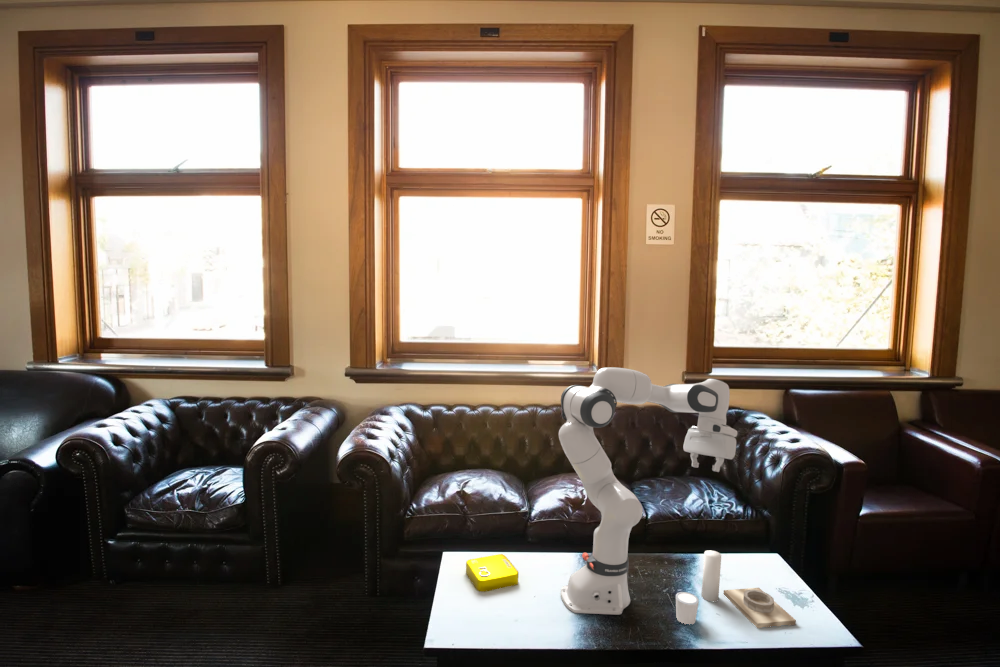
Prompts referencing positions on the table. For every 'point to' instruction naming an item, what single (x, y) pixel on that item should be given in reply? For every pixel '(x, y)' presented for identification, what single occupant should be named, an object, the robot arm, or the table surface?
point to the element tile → (491, 572)
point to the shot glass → (686, 607)
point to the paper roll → (711, 575)
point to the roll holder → (759, 607)
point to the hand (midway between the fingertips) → (704, 469)
